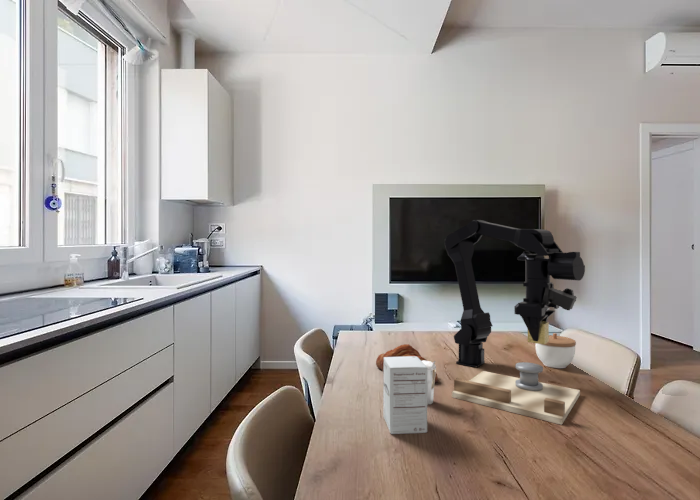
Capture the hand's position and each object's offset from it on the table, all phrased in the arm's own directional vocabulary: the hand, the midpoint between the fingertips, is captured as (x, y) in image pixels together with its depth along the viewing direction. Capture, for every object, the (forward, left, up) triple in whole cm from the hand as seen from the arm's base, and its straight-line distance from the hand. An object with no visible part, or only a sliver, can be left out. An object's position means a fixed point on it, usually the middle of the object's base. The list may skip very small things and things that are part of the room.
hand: (538, 339), depth 102 cm
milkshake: (-16, -29, -12) cm, 35 cm away
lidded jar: (0, +20, -12) cm, 23 cm away
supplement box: (-14, -42, -12) cm, 46 cm away
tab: (0, 0, -1) cm, 1 cm away
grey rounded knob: (0, -8, -10) cm, 13 cm away
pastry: (-31, -14, -12) cm, 36 cm away
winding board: (-2, -13, -11) cm, 17 cm away
